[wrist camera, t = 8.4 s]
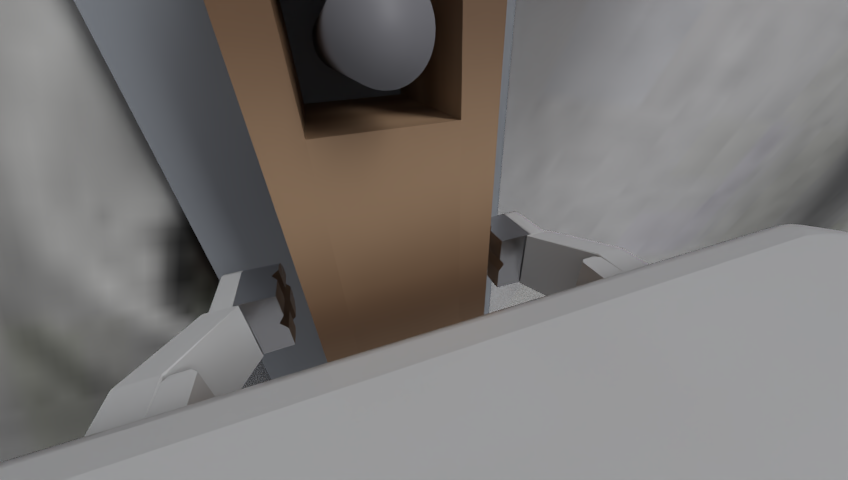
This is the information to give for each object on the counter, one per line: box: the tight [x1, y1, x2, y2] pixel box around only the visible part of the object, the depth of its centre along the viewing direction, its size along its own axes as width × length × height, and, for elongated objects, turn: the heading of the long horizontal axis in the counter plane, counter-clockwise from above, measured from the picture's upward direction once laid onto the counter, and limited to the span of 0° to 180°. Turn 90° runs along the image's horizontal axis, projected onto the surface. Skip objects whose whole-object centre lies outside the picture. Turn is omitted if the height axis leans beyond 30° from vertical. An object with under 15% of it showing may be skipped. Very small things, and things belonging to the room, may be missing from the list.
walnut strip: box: [203, 0, 507, 362], centre depth 11 cm, size 20×5×5 cm, turn 4°
